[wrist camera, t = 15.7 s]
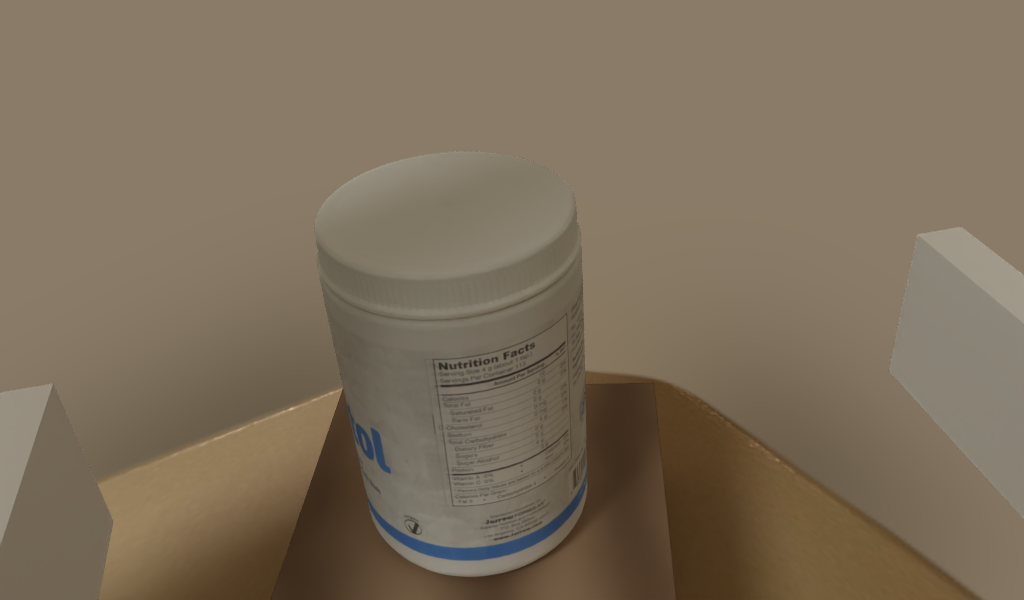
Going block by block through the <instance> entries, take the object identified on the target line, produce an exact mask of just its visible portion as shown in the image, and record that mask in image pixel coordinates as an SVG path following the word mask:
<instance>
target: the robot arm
mask: <svg viewBox="0 0 1024 600" xmlns="http://www.w3.org/2000/svg"><path fill="white" fill-rule="evenodd" d="M889 372H890V373H891V374H892V375H893V376H894V377H895V378H896V379H897V381H899V383H900V384H901V385H902V386H903V387H904V388H905V389H906V390H907V392H908V393H909V394H910V395H911V396H912V397H913V398H914V399H915V400H916V401H917V403H918V404H919V405H920V406H921V407H922V408H923V409H924V410H925V411H926V412H927V413H928V415H929V416H930V417H931V418H932V419H933V420H934V421H935V422H936V423H937V424H938V426H939V427H940V428H941V429H942V430H943V431H944V432H945V433H946V434H947V435H948V437H950V439H951V440H952V441H953V442H954V443H955V444H956V445H957V447H958V448H959V449H960V450H961V451H962V452H963V453H964V454H965V455H966V456H967V458H968V459H969V460H970V461H971V462H972V463H973V464H974V465H975V466H976V467H977V469H978V470H979V471H980V472H981V473H982V474H983V475H984V476H985V477H986V478H987V480H989V482H990V483H991V484H992V485H993V486H994V487H995V488H996V489H997V490H998V491H999V493H1000V494H1001V495H1002V496H1003V497H1004V498H1005V499H1006V500H1007V502H1009V504H1010V505H1011V506H1012V507H1013V508H1014V509H1015V510H1016V511H1017V513H1019V515H1020V516H1021V517H1022V518H1023V519H1024V275H1023V274H1021V273H1020V272H1019V271H1017V270H1016V269H1015V268H1013V267H1012V266H1011V265H1010V264H1008V263H1007V262H1006V261H1005V260H1003V259H1002V258H1001V257H999V256H998V255H997V254H996V253H994V252H993V251H992V250H990V249H989V248H988V247H987V246H985V245H984V244H982V243H981V242H980V241H979V240H977V239H976V238H975V237H974V236H972V235H971V234H969V233H968V232H967V231H966V230H965V229H963V228H962V227H958V228H952V229H946V230H940V231H934V232H929V233H923V234H918V235H917V239H916V243H915V248H914V253H913V258H912V262H911V267H910V272H909V276H908V281H907V286H906V291H905V296H904V300H903V305H902V310H901V315H900V319H899V324H898V329H897V334H896V338H895V343H894V348H893V353H892V357H891V362H890V367H889ZM112 526H113V519H112V517H111V514H110V512H109V510H108V508H107V505H106V503H105V501H104V498H103V496H102V494H101V492H100V489H99V487H98V485H97V482H96V480H95V478H94V476H93V473H92V471H91V469H90V467H89V464H88V462H87V460H86V457H85V455H84V453H83V451H82V448H81V446H80V444H79V441H78V439H77V437H76V434H75V432H74V430H73V428H72V425H71V423H70V421H69V418H68V416H67V414H66V412H65V409H64V407H63V405H62V402H61V400H60V398H59V396H58V394H57V391H56V389H55V387H54V384H47V385H42V386H36V387H30V388H24V389H19V390H13V391H7V392H1V393H0V600H98V597H99V592H100V587H101V582H102V577H103V572H104V567H105V562H106V557H107V552H108V546H109V541H110V536H111V531H112Z"/></svg>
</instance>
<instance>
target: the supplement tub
mask: <svg viewBox="0 0 1024 600" xmlns="http://www.w3.org/2000/svg"><path fill="white" fill-rule="evenodd" d="M314 228H315V237H316V243H317V249H318V252H317V265H318V269H319V275H320V282H321V286H322V291H323V296H324V301H325V307H326V311H327V316H328V321H329V325H330V329H331V334H332V339H333V344H334V348H335V353H336V357H337V362H338V366H339V371H340V375H341V380H342V385H343V389H344V394H345V398H346V403H347V408H348V412H349V417H350V421H351V426H352V431H353V435H354V440H355V444H356V449H357V453H358V458H359V463H360V467H361V472H362V477H363V481H364V486H365V490H366V495H367V499H368V504H369V509H370V513H371V516H372V519H373V522H374V524H375V526H376V528H377V530H378V531H379V533H380V534H381V536H382V537H383V538H384V540H385V541H386V542H387V543H388V544H389V545H390V546H391V547H392V548H393V549H394V550H395V551H397V552H398V553H399V554H400V555H401V556H403V557H404V558H406V559H407V560H409V561H410V562H412V563H414V564H416V565H418V566H420V567H422V568H425V569H427V570H430V571H433V572H436V573H440V574H444V575H450V576H461V577H480V576H489V575H495V574H501V573H505V572H508V571H512V570H515V569H518V568H520V567H523V566H525V565H528V564H530V563H532V562H534V561H536V560H537V559H539V558H541V557H543V556H544V555H546V554H547V553H548V552H550V551H551V550H552V549H554V548H555V547H556V546H557V545H558V544H559V543H561V542H562V541H563V540H564V539H565V537H566V536H567V535H568V534H569V533H570V531H571V530H572V529H573V527H574V526H575V524H576V522H577V521H578V519H579V517H580V515H581V513H582V510H583V507H584V504H585V500H586V494H587V438H586V396H585V357H584V356H585V355H584V317H583V316H584V314H583V275H582V249H581V232H580V228H579V225H578V222H577V212H576V201H575V196H574V194H573V191H572V190H571V188H570V186H569V185H568V184H567V183H566V182H565V180H564V179H563V178H561V177H560V176H559V175H558V174H557V173H555V172H554V171H552V170H550V169H549V168H547V167H545V166H542V165H540V164H538V163H536V162H533V161H530V160H528V159H525V158H520V157H516V156H512V155H507V154H500V153H492V152H477V151H475V152H474V151H461V152H460V151H457V152H443V153H435V154H428V155H422V156H415V157H411V158H406V159H402V160H398V161H395V162H392V163H389V164H386V165H383V166H380V167H377V168H375V169H372V170H369V171H367V172H365V173H363V174H361V175H359V176H357V177H355V178H354V179H352V180H350V181H349V182H347V183H346V184H344V185H343V186H341V187H340V188H339V189H338V190H336V191H335V192H334V193H333V194H332V195H331V196H330V197H328V199H327V200H326V201H325V202H324V204H323V205H322V206H321V208H320V210H319V212H318V214H317V217H316V221H315V227H314Z"/></svg>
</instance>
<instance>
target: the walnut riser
mask: <svg viewBox="0 0 1024 600" xmlns="http://www.w3.org/2000/svg"><path fill="white" fill-rule="evenodd" d="M585 396H586V438H587V494H586V500H585V504H584V507H583V510H582V513H581V515H580V517H579V519H578V521H577V522H576V524H575V526H574V527H573V529H572V530H571V531H570V533H569V534H568V535H567V536H566V537H565V539H564V540H563V541H562V542H561V543H559V544H558V545H557V546H556V547H555V548H554V549H552V550H551V551H550V552H548V553H547V554H546V555H544V556H543V557H541V558H539V559H537V560H536V561H534V562H532V563H530V564H528V565H525V566H523V567H520V568H518V569H515V570H512V571H508V572H505V573H501V574H495V575H489V576H480V577H461V576H450V575H444V574H440V573H436V572H433V571H430V570H427V569H425V568H422V567H420V566H418V565H416V564H414V563H412V562H410V561H409V560H407V559H406V558H404V557H403V556H401V555H400V554H399V553H398V552H397V551H395V550H394V549H393V548H392V547H391V546H390V545H389V544H388V543H387V542H386V541H385V540H384V538H383V537H382V536H381V534H380V533H379V531H378V530H377V528H376V526H375V524H374V522H373V519H372V516H371V513H370V509H369V504H368V499H367V495H366V490H365V486H364V481H363V477H362V472H361V467H360V463H359V458H358V453H357V449H356V444H355V440H354V435H353V431H352V426H351V421H350V417H349V412H348V408H347V403H346V398H345V394H344V389H343V390H342V393H341V396H340V399H339V402H338V405H337V408H336V410H335V413H334V416H333V419H332V422H331V425H330V428H329V431H328V434H327V437H326V440H325V443H324V445H323V448H322V451H321V454H320V457H319V460H318V463H317V466H316V469H315V472H314V475H313V477H312V480H311V483H310V486H309V489H308V492H307V495H306V498H305V501H304V504H303V507H302V510H301V512H300V515H299V518H298V521H297V524H296V527H295V530H294V533H293V536H292V539H291V542H290V545H289V547H288V550H287V553H286V556H285V559H284V562H283V565H282V568H281V571H280V574H279V577H278V580H277V582H276V585H275V588H274V591H273V594H272V597H271V600H676V595H675V585H674V575H673V565H672V556H671V546H670V536H669V526H668V517H667V507H666V497H665V487H664V478H663V468H662V458H661V448H660V438H659V429H658V419H657V409H656V399H655V390H654V383H629V384H585Z"/></svg>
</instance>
